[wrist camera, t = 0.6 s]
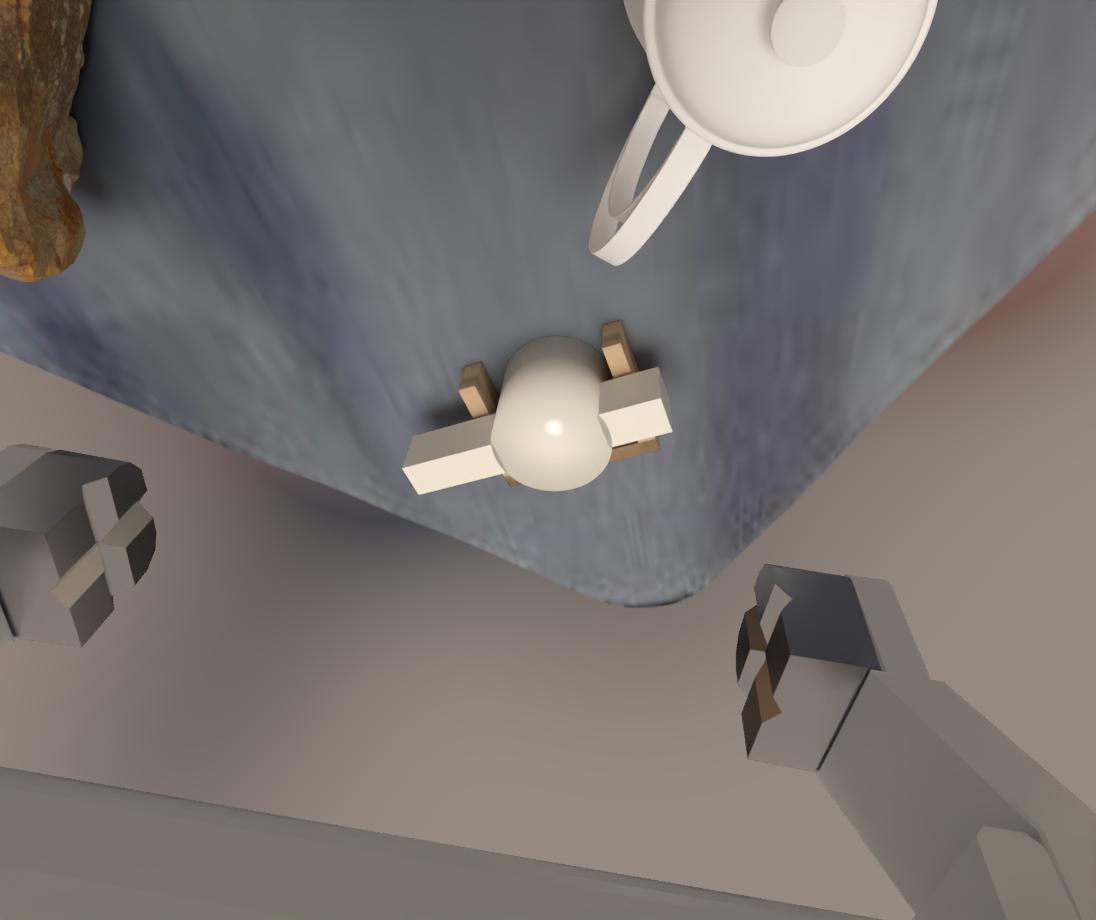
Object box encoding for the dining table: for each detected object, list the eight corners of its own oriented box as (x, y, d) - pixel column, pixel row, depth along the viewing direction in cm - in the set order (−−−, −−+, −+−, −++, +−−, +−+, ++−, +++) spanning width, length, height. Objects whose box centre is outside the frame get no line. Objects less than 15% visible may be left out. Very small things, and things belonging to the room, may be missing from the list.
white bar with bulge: (407, 378, 53) (382, 438, 48) (645, 305, 48) (648, 363, 43) (453, 458, 57) (436, 521, 52) (676, 399, 52) (683, 462, 47)
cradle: (465, 366, 52) (458, 390, 50) (620, 319, 49) (620, 343, 46) (514, 460, 57) (509, 486, 55) (657, 424, 54) (659, 449, 51)
